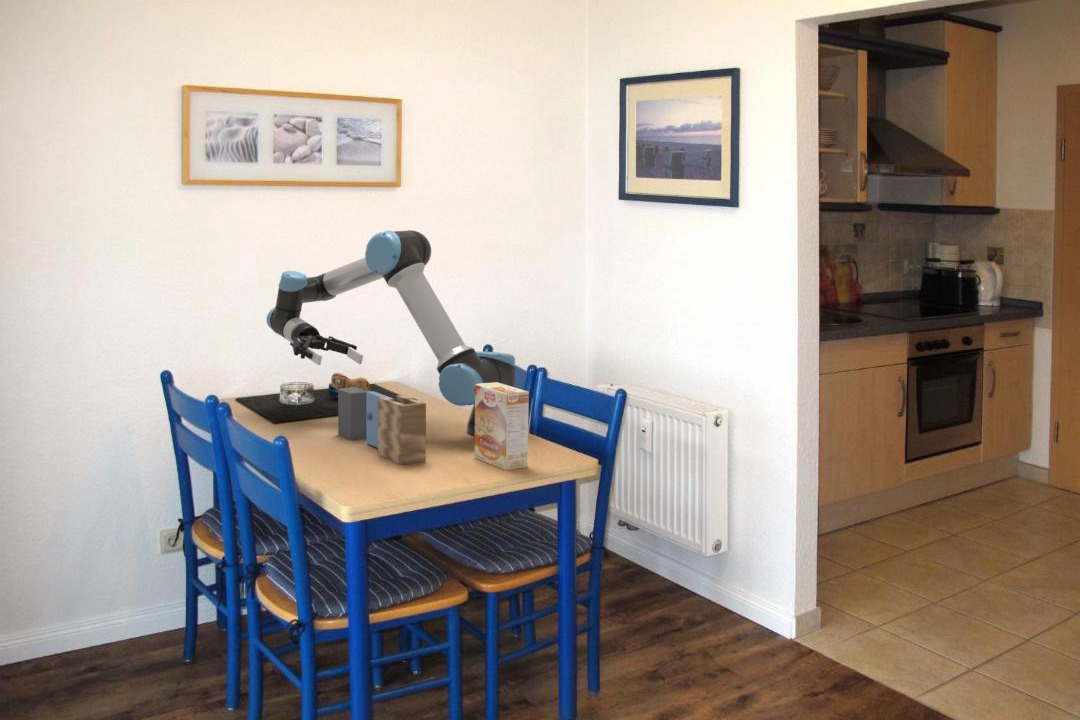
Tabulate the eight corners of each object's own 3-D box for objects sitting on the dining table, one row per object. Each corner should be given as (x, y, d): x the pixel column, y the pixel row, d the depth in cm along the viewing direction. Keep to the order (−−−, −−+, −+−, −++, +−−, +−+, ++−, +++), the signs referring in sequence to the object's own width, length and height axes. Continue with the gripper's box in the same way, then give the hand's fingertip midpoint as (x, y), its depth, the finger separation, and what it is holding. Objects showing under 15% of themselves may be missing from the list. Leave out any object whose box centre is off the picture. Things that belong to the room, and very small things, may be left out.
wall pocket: (378, 454, 282) (377, 397, 279) (401, 450, 286) (401, 394, 283) (401, 464, 271) (401, 406, 269) (425, 461, 275) (425, 403, 273)
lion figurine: (335, 402, 348) (335, 374, 346) (328, 399, 352) (327, 371, 351) (376, 397, 356) (376, 370, 355) (369, 395, 360) (369, 368, 359)
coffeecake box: (473, 458, 280) (474, 383, 277) (496, 454, 284) (497, 381, 281) (504, 471, 268) (506, 393, 265) (528, 467, 272) (530, 390, 269)
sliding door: (364, 443, 292) (364, 392, 290) (373, 442, 293) (373, 391, 291) (385, 452, 282) (385, 399, 280) (394, 451, 284) (394, 398, 282)
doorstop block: (338, 434, 303) (338, 388, 301) (356, 432, 306) (356, 387, 304) (350, 440, 296) (350, 393, 294) (369, 438, 299) (369, 391, 297)
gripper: (335, 346, 327) (375, 371, 312) (261, 347, 309) (299, 373, 295) (340, 322, 325) (380, 347, 310) (266, 322, 307) (304, 347, 293)
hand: (341, 360), depth 303 cm, fingers open, 13 cm apart
